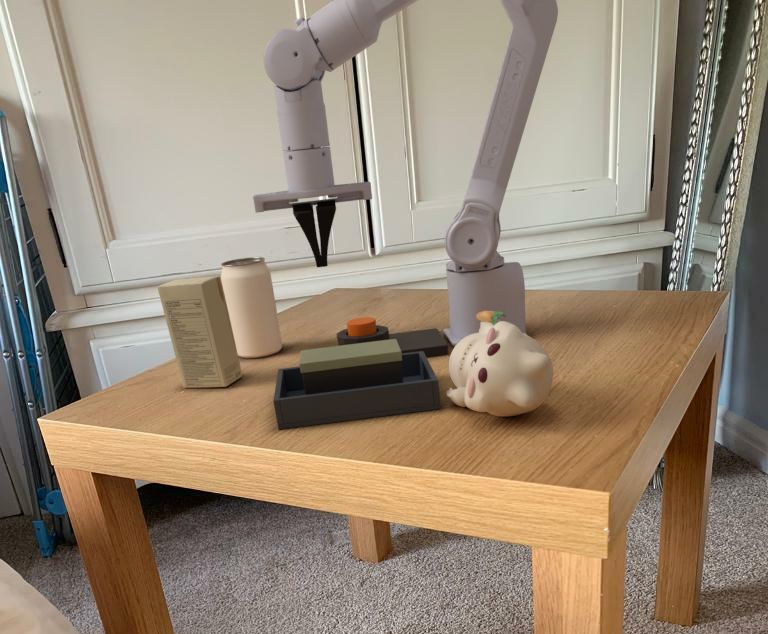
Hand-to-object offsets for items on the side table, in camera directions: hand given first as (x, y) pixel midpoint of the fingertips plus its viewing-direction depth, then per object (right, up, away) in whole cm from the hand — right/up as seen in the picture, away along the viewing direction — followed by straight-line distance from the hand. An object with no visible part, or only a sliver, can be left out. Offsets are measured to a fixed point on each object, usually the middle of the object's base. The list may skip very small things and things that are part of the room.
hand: (322, 265), depth 97 cm
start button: (+5, -9, -2) cm, 11 cm away
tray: (+5, -20, -17) cm, 27 cm away
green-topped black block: (+5, -20, -18) cm, 27 cm away
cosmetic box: (-13, -16, -5) cm, 21 cm away
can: (-9, -10, +5) cm, 15 cm away
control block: (+10, -11, -1) cm, 15 cm away
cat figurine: (+19, -22, -24) cm, 38 cm away
